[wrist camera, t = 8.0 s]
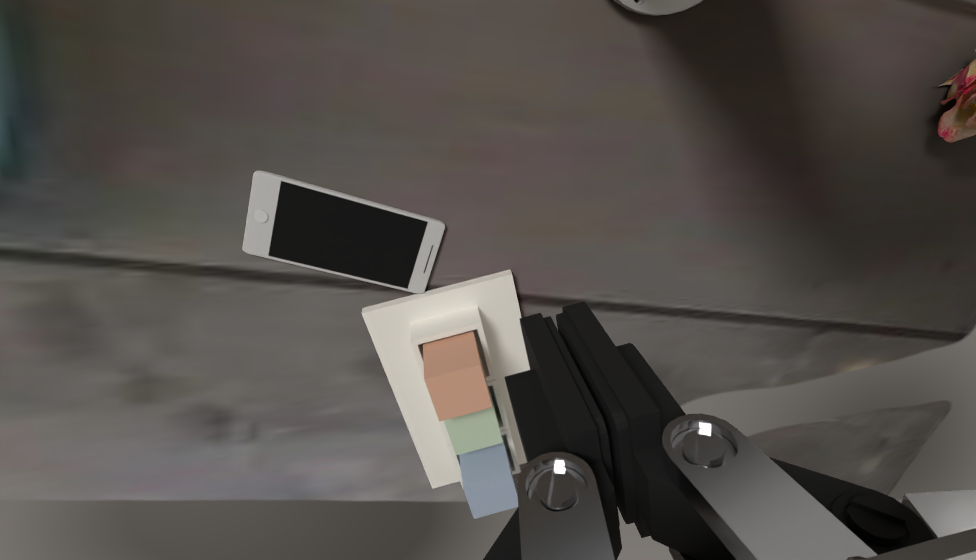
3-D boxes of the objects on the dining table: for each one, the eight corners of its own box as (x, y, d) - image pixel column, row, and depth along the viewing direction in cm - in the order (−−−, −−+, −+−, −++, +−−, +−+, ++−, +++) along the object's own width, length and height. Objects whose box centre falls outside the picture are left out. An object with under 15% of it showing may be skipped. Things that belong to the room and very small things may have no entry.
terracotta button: (473, 330, 41) (480, 364, 37) (484, 370, 44) (492, 407, 39) (422, 344, 41) (424, 379, 37) (436, 383, 43) (439, 421, 39)
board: (510, 269, 43) (518, 289, 40) (548, 449, 54) (558, 477, 51) (362, 308, 43) (358, 331, 39) (432, 481, 54) (433, 511, 50)
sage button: (485, 372, 46) (493, 406, 42) (494, 406, 48) (503, 442, 44) (440, 384, 46) (443, 420, 42) (451, 418, 48) (455, 455, 44)
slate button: (501, 434, 47) (511, 474, 43) (510, 465, 50) (520, 506, 45) (458, 446, 47) (462, 487, 43) (468, 476, 49) (474, 518, 45)
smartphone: (256, 167, 37) (253, 169, 36) (445, 220, 41) (446, 224, 40) (244, 248, 39) (241, 252, 38) (423, 290, 43) (423, 295, 43)
